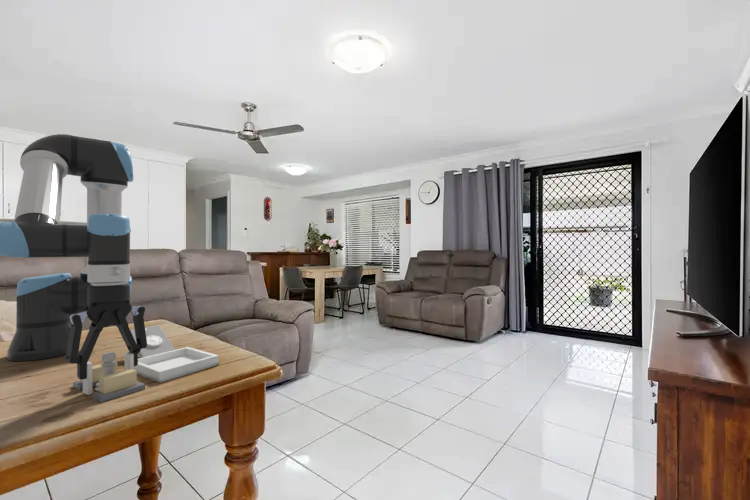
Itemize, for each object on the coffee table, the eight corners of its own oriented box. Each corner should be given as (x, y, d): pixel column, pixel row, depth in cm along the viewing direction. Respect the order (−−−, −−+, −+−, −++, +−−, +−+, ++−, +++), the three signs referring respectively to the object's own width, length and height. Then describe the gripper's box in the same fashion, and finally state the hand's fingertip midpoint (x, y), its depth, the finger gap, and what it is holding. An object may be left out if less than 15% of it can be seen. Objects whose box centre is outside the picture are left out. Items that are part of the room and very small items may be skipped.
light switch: (146, 359, 91) (127, 327, 99) (141, 377, 93) (123, 343, 100) (180, 352, 98) (159, 322, 106) (175, 368, 100) (155, 337, 107)
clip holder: (72, 386, 77) (73, 368, 77) (114, 375, 84) (114, 359, 84) (101, 402, 69) (101, 382, 69) (145, 388, 76) (145, 370, 76)
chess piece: (92, 388, 76) (92, 352, 76) (117, 382, 80) (117, 347, 80) (98, 394, 74) (98, 356, 74) (125, 387, 77) (125, 351, 77)
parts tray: (129, 370, 88) (129, 360, 88) (187, 355, 100) (187, 346, 100) (159, 382, 80) (159, 371, 80) (218, 364, 92) (218, 355, 92)
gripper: (56, 288, 66) (56, 408, 66) (165, 281, 83) (165, 376, 83) (43, 286, 70) (42, 399, 70) (149, 279, 87) (149, 370, 87)
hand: (109, 386), depth 77 cm, fingers open, 7 cm apart
